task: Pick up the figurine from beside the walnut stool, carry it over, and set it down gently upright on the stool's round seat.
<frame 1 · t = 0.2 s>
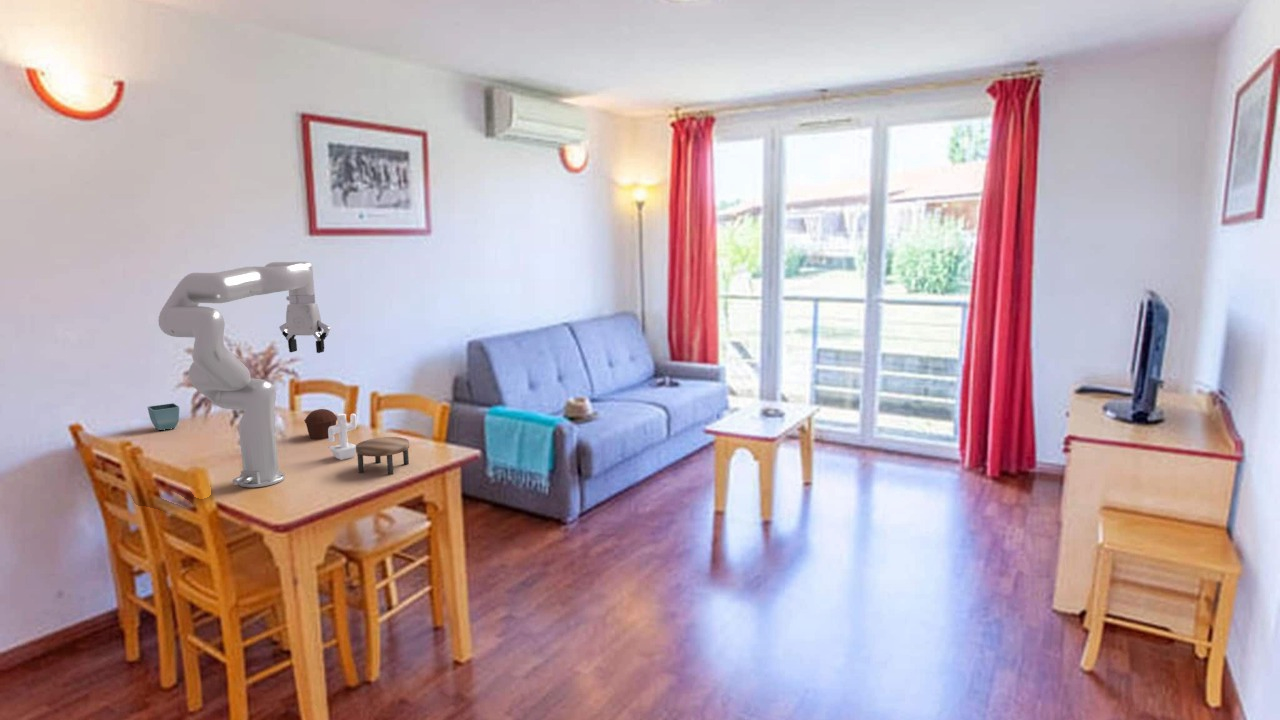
hand: (306, 351, 230), 36 cm above the table, tool pointing down, fingers open, 9 cm apart
muffin: (322, 436, 262), on the table
flower pot: (166, 429, 270), on the table
walnut stool: (384, 467, 225), on the table
figurine: (344, 457, 236), on the table
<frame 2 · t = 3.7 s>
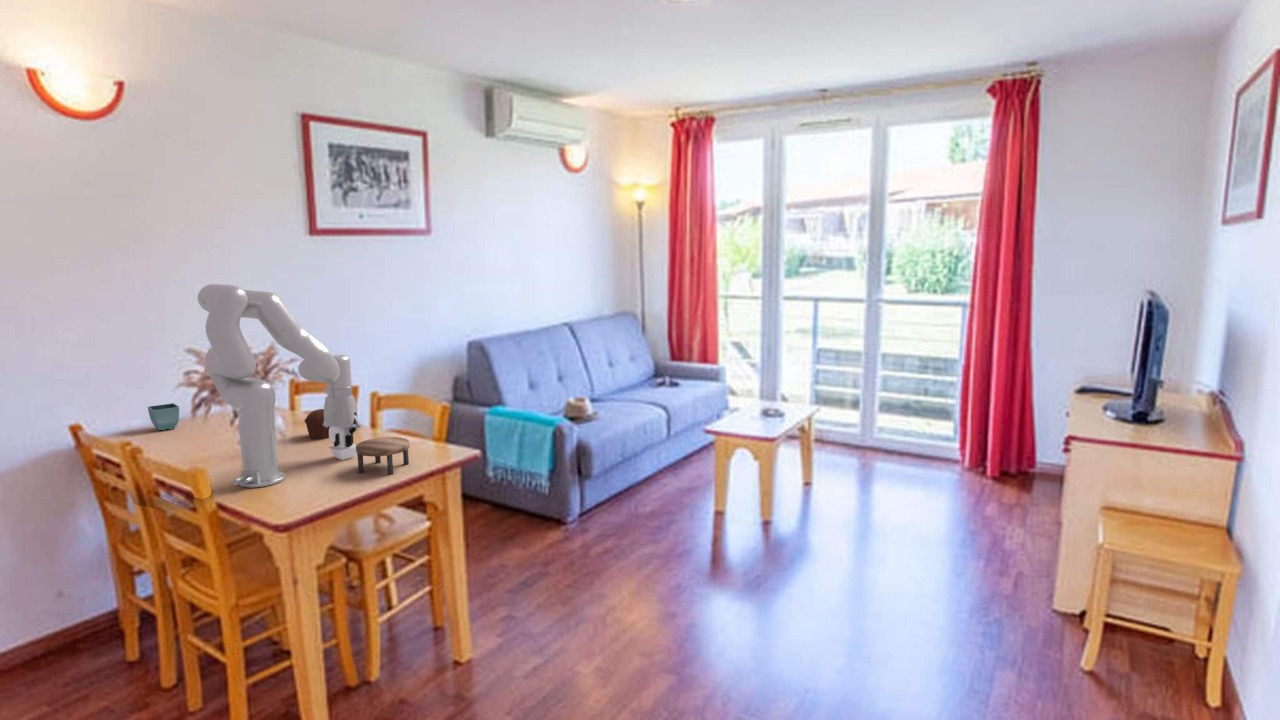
hand: (343, 445, 236), 4 cm above the table, tool pointing down, fingers closed on figurine, 3 cm apart
figurine: (345, 457, 236), on the table, touching gripper
everything else where it was.
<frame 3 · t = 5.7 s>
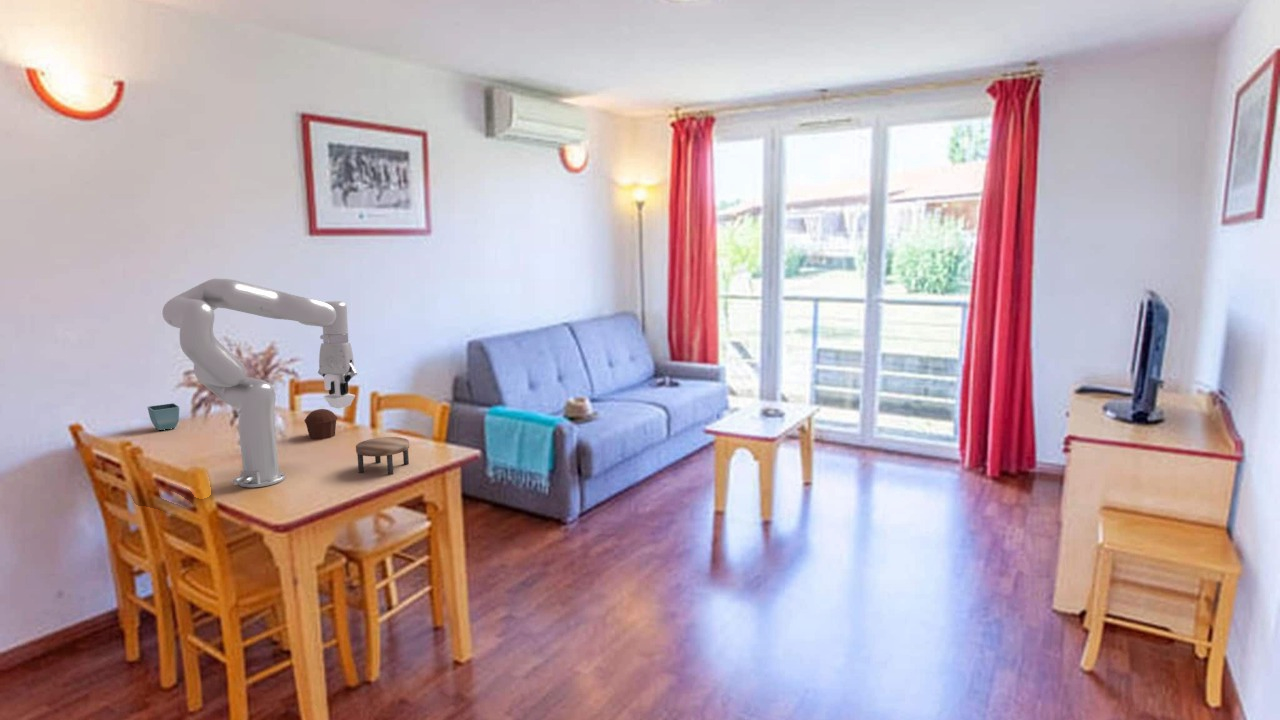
hand: (338, 393, 232), 22 cm above the table, tool pointing down, fingers closed on figurine, 3 cm apart
figurine: (340, 406, 233), point 18 cm above the table, touching gripper
everything else where it was.
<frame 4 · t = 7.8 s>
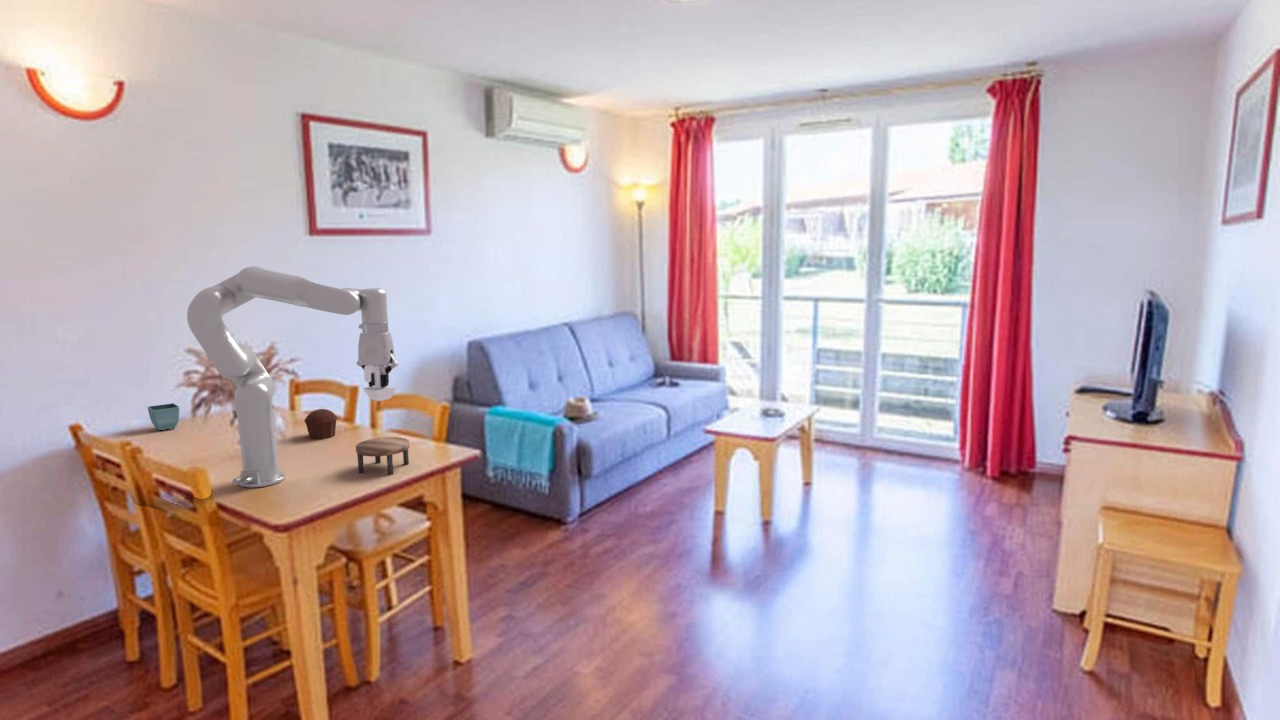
hand: (378, 385, 221), 27 cm above the table, tool pointing down, fingers closed on figurine, 3 cm apart
figurine: (380, 399, 222), point 23 cm above the table, touching gripper
everything else where it was.
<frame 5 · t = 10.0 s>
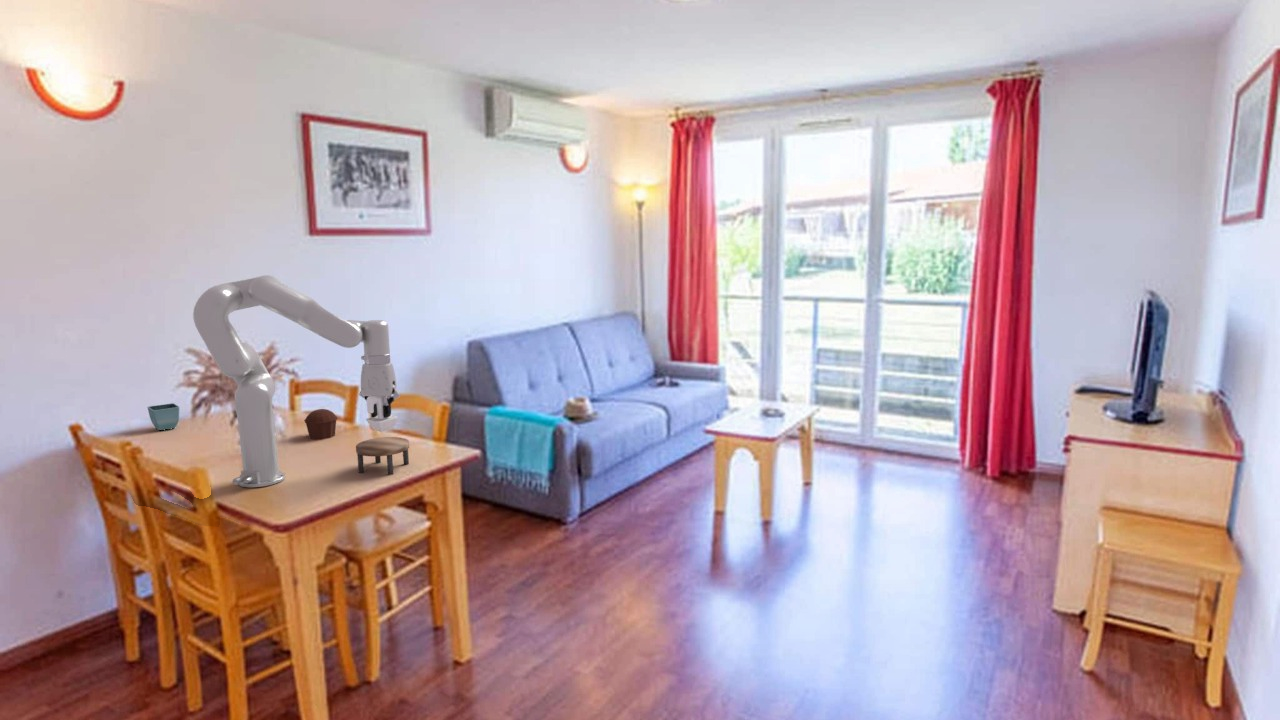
hand: (381, 416, 223), 17 cm above the table, tool pointing down, fingers closed on figurine, 3 cm apart
figurine: (383, 429, 223), point 13 cm above the table, touching gripper
everything else where it was.
when the fingers open (14 cm above the table, at t = 11.3 s): figurine drops 1 cm, resting on walnut stool.
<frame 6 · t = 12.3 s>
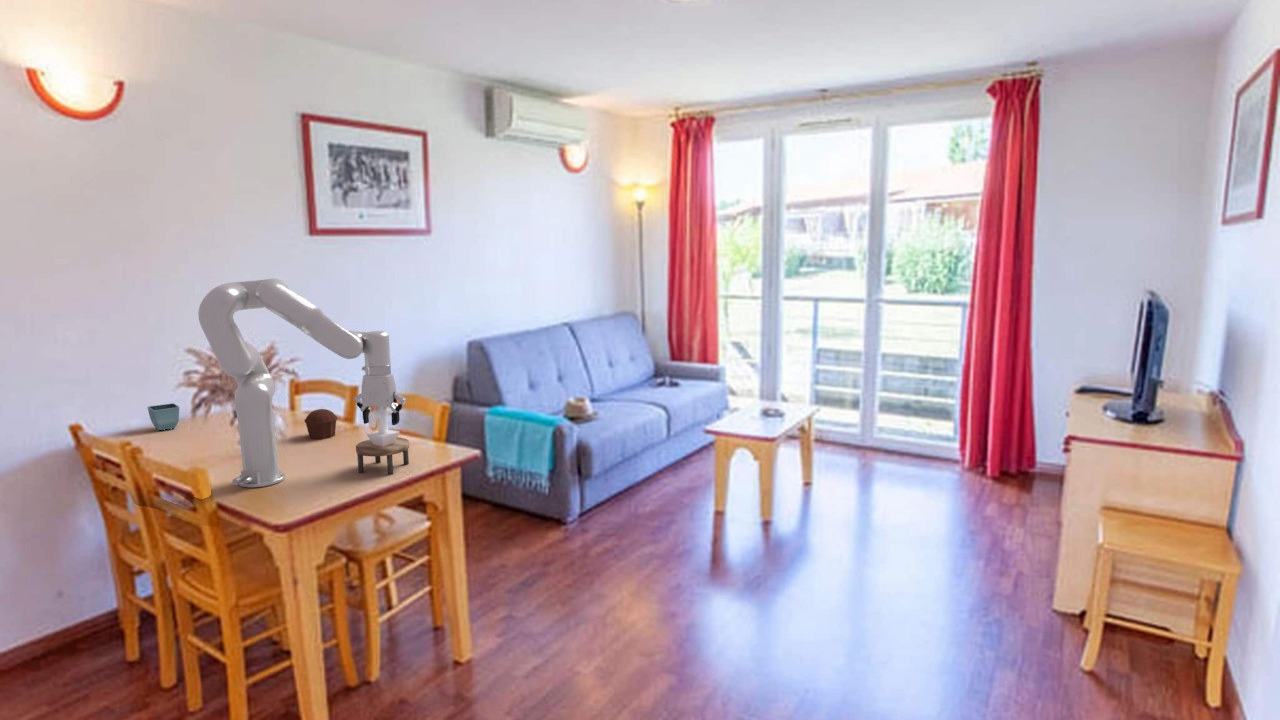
hand: (381, 423, 223), 15 cm above the table, tool pointing down, fingers open, 9 cm apart
figurine: (384, 444, 224), point 8 cm above the table, touching walnut stool
everything else where it was.
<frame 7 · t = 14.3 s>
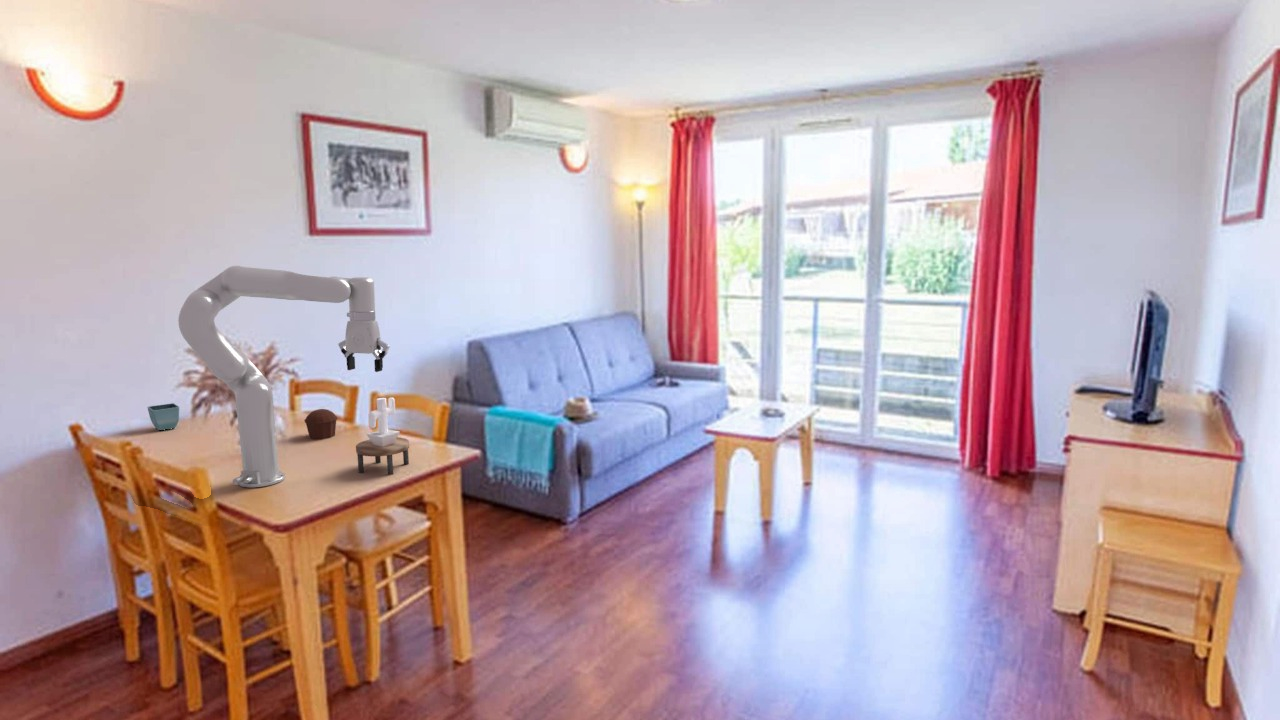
hand: (364, 370, 223), 31 cm above the table, tool pointing down, fingers open, 9 cm apart
nothing on the table moved.
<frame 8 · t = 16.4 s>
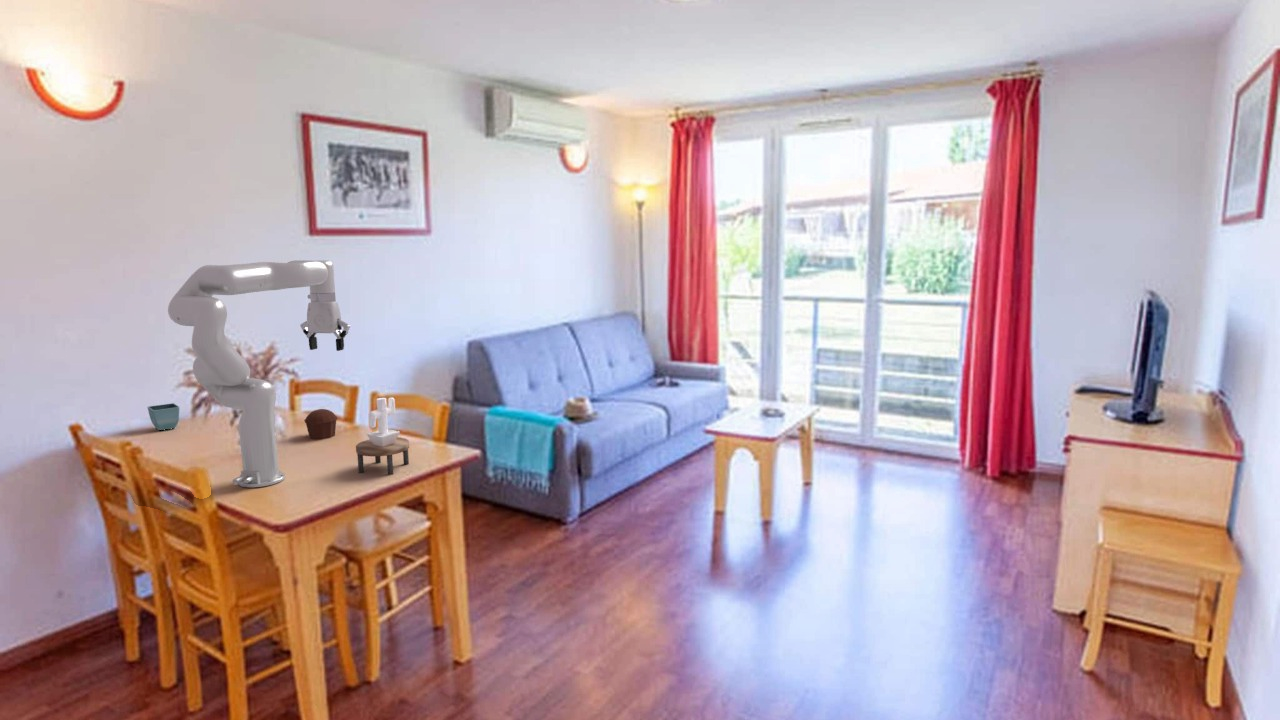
hand: (326, 349, 233), 36 cm above the table, tool pointing down, fingers open, 9 cm apart
nothing on the table moved.
at the end: figurine inside the target area on the walnut stool (0.4 cm from its centre), point 7.8 cm above the walnut stool's base; figurine tilted 0°; the gripper is holding nothing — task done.
